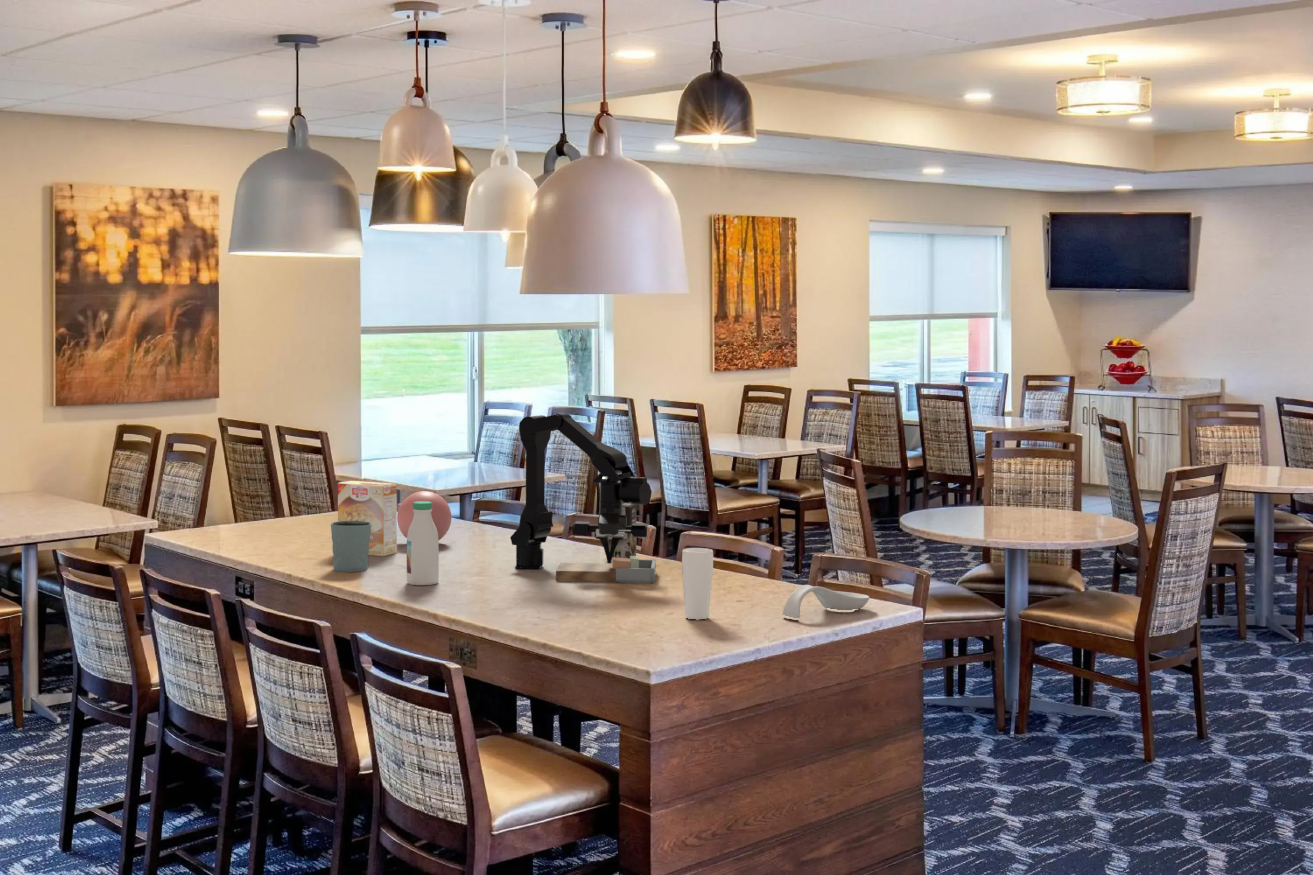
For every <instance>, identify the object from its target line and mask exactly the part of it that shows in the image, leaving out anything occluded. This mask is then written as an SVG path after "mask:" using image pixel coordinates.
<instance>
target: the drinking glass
mask: <svg viewBox="0 0 1313 875" xmlns="http://www.w3.org/2000/svg"><path fill="white" fill-rule="evenodd" d="M681 554H682V555H681V572H682V573H681V574H682V575H681V576H682V585H683V586H682V587H683V602H684V617H685V619H687V618H688V619H687V620H689V619H696V620H695V621H700V620H699V619H705V620H708V619H709V617H710V605H711V604H710V603H711V594H712V592H711V591H712V586H713V584H712V583H713V574H714V573H713V572H714V551H713V549H711V548H706V547H688V548H683V549H682V553H681ZM707 618H708V619H707Z"/></svg>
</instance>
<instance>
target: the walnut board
mask: <svg viewBox="0 0 1313 875" xmlns="http://www.w3.org/2000/svg"><path fill="white" fill-rule="evenodd" d="M555 581H556V582H598V583H599V582H605V583H606V582H607V583H608V582H609V583H616V569H612V566H611V564H608V563H607V562H606V563H605V562H603V563H602V562H601V563H599V562H598V563H597V562H596V563H594V562H560V563H559V565H558V567H557V568H556V570H555Z"/></svg>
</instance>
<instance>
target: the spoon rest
mask: <svg viewBox="0 0 1313 875" xmlns="http://www.w3.org/2000/svg"><path fill="white" fill-rule="evenodd" d="M811 592H812V593H813V594H814V595H815V597H816V598H817V600H818V601H819V603H820V604H821V605H822V607H823V608H825V609H826V608H830V609H837V610H852V609H859V608H861V609H862V608H863V607H864V606H866V605H867V603H868V602H869V600H870V596H869V595H867V594H862V593H858V592H857V593H856V592H850V591H849V592H848V591H839V590H832V589H829V588H827V587H823V586H816V585H815V586H813V585H810V584H802V585H800V586H798V587H797V588H796V589H795V590H793V592H792V593H791V594H790V595H789V596H788V598H787V600H786V602H785V603H784V607H783V609H782V615H785V616H789V617H793V618H800V617H801V614H800V613H801V604H802V601H803V599H804V598H805V596H807V595H808V594H809V593H811ZM859 610H860V609H859ZM800 619H801V618H800Z"/></svg>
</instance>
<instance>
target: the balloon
mask: <svg viewBox="0 0 1313 875" xmlns="http://www.w3.org/2000/svg"><path fill="white" fill-rule="evenodd" d="M418 501H428V502H432V511H431V516H432V519H433V522H434V524H435V527H436V529H437V532H438V542H439V541H440V540H441V539H442V538H445V536H446V535H447V533H448V531H449V530H450V527H451V524H452V511H451V508H450V506H449V504H448V502H447V500H445V498H443V497H442V496H441V495H440V494H438V493H435V492H432V491H427V490H423V491H422V490H421V491H420V490H419V491H416V492H414V493H412V494H410V495H409V496H407V497H405V499H404V500H402V502H401V503H398V504H397V526H398V528H399V530H400V533H402V535H403V536H404V538H405V539H407V534H408V530H409V527H410V525H411V523H412V520H413V517H414V511H413V503H414V502H418Z"/></svg>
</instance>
